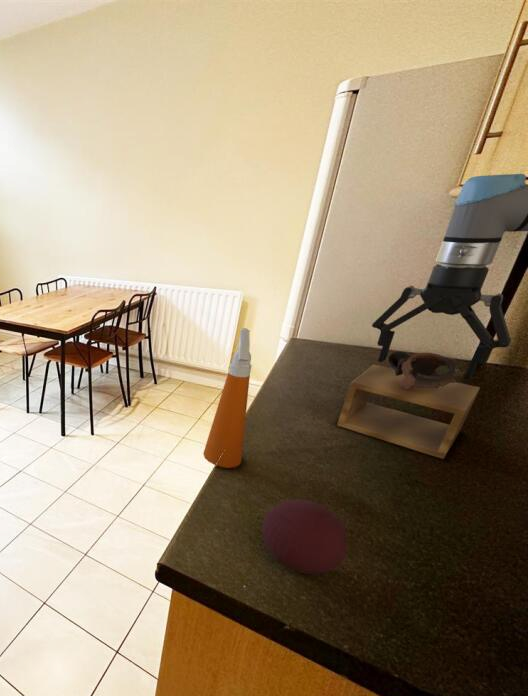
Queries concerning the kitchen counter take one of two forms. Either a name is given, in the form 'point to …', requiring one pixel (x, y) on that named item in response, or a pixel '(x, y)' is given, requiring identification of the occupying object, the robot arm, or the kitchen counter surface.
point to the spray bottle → (231, 410)
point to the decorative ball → (305, 536)
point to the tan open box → (403, 425)
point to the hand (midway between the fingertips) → (422, 368)
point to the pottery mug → (421, 369)
